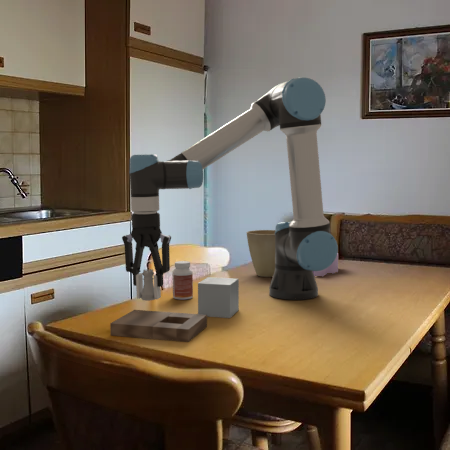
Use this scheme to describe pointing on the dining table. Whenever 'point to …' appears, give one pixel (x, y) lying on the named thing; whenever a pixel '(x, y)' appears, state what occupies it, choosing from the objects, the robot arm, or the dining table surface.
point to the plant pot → (262, 251)
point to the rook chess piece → (148, 285)
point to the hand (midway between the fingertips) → (148, 297)
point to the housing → (218, 297)
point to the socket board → (159, 325)
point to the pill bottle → (182, 281)
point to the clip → (330, 269)
